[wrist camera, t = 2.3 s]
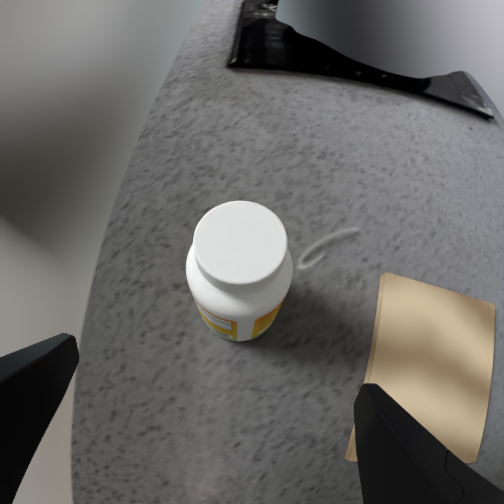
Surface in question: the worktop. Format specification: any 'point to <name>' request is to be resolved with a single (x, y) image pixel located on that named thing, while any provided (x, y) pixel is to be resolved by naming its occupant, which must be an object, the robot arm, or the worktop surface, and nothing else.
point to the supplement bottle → (239, 269)
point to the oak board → (434, 360)
